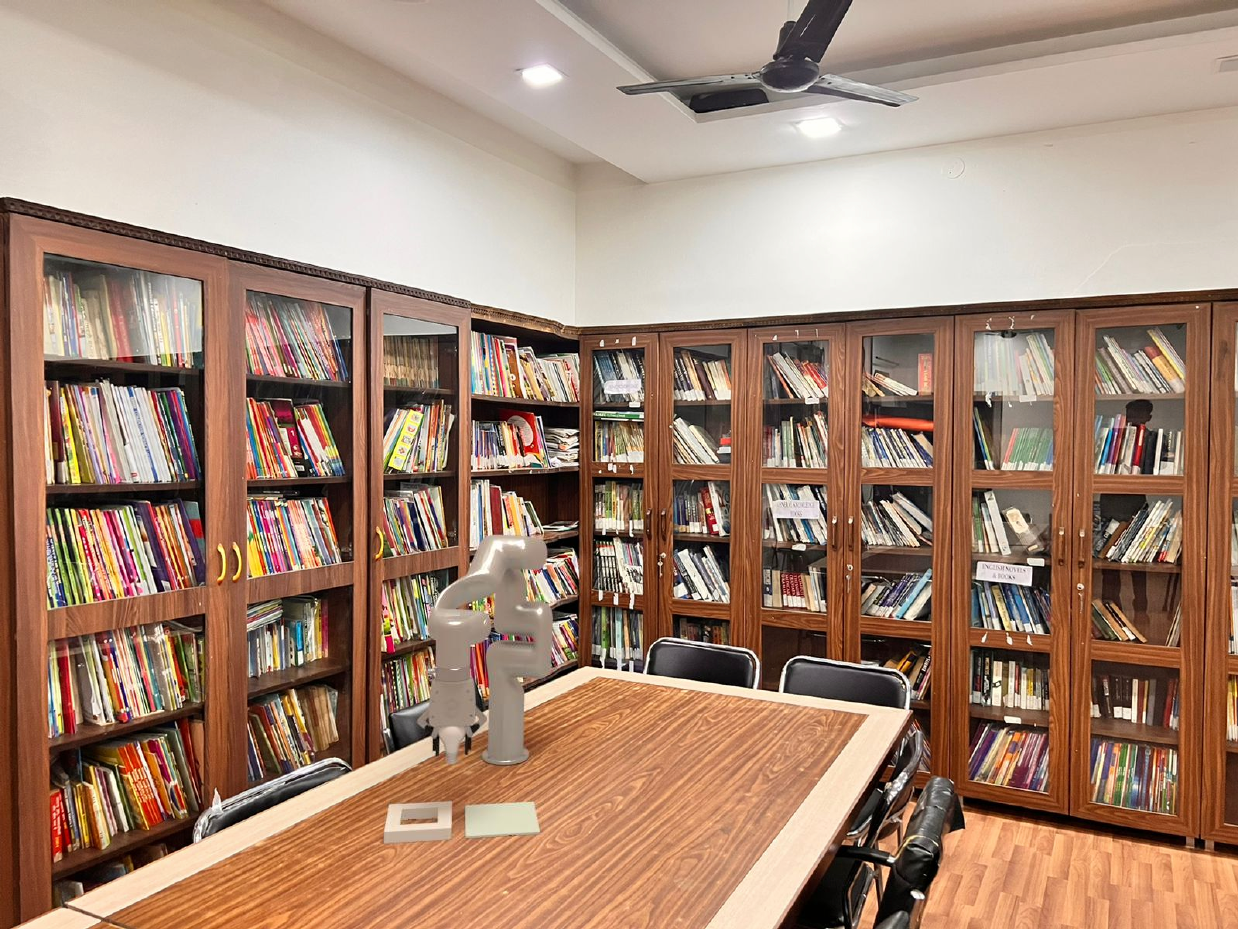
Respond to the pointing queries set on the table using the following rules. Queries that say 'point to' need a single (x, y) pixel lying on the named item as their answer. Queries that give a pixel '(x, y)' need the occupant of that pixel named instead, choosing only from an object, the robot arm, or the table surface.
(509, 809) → the sage mat
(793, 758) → the table surface
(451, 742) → the lightbulb
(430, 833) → the pocket holder
